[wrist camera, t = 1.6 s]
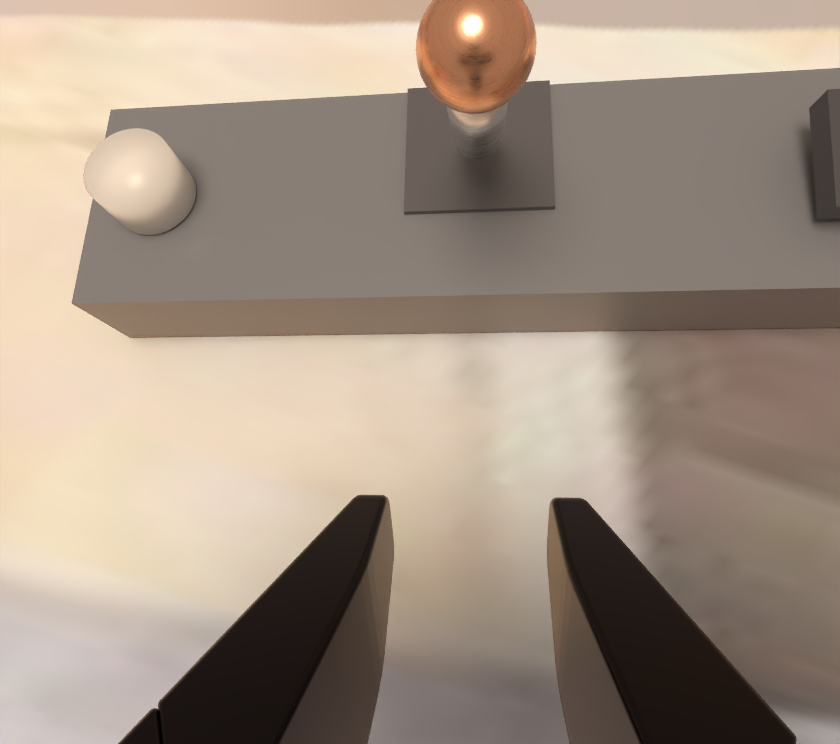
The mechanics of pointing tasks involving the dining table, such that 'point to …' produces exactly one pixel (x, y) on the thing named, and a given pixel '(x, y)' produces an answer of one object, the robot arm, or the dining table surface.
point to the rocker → (826, 153)
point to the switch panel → (483, 215)
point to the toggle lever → (476, 65)
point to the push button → (140, 181)
